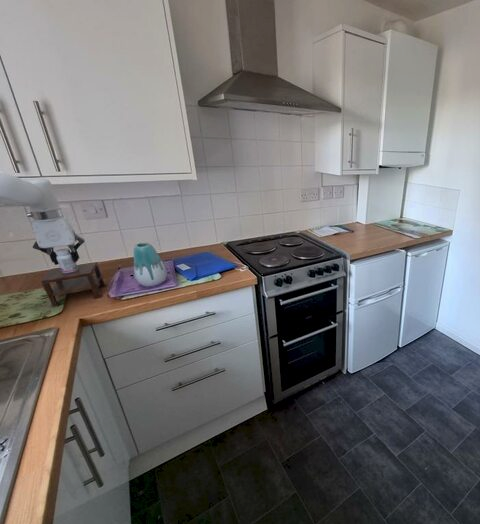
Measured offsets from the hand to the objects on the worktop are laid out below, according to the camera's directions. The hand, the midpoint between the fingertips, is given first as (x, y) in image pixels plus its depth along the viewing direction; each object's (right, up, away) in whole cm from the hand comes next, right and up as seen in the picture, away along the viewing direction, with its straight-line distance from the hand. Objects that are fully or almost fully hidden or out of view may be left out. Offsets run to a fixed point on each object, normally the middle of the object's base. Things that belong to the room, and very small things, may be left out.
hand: (66, 261), depth 113 cm
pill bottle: (0, -4, +2) cm, 4 cm away
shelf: (0, -13, +6) cm, 14 cm away
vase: (+23, -9, +15) cm, 29 cm away
